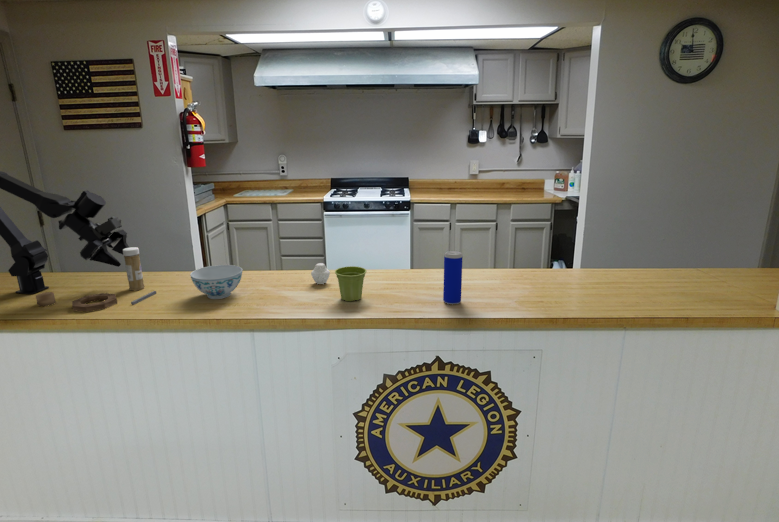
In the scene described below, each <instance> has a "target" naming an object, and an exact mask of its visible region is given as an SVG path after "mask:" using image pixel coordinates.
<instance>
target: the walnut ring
mask: <svg viewBox="0 0 779 522" xmlns="http://www.w3.org/2000/svg"><path fill="white" fill-rule="evenodd" d="M97 300H99V301H100V302H98V301H97ZM104 300H105V301H104ZM91 301H93V302H95V303H91ZM85 303H86V304H85ZM87 303H89V304H87ZM117 304H118V299H117V296H116V294H115V293H107V292H106V293H105V292H101V293H95V294H89V295H84V296H82V297H79V298H77V299H75V300H72V301H71V305H72V306H71V307H72V311H74V312H81V311H86V312H85V313H88V312H87V311H90V312H93V310H95V311H100V310H99V309H101V310H105V308H106V309H108V308H110V307H112V306H114V305H117ZM107 307H108V308H107Z"/></svg>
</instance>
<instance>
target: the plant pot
mask: <svg viewBox="0 0 779 522" xmlns="http://www.w3.org/2000/svg"><path fill="white" fill-rule="evenodd" d="M366 273H367V268H364V267H361V266H354V265H352V266H342V267H339V268H337V269H335V270H334V274H335V275H336V278H337V281H338V287H339V293H340V298H341V300H342V301H344V300H345V301H346V302H352V301H355V300H357V301H359V299H360V298H361V299H362V297H363V295H362V294H363V288H364V287H363V286H364V279H365V276H366ZM361 299H360V300H361Z"/></svg>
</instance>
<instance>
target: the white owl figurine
mask: <svg viewBox="0 0 779 522" xmlns="http://www.w3.org/2000/svg"><path fill="white" fill-rule="evenodd" d="M330 274H331V271H330V270H329V269H328V268H327V266H326V264H325V263H323V262H319V263H316V264H315V265H314V268H313V269H312V271H311V273H310V275H311V278H312V279H313V282H315V284H316V283H317V284H316V285H318V284H323V285H325V284H324V283H326V284H327V282H328V280H329V277H330Z"/></svg>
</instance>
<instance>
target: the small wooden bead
mask: <svg viewBox="0 0 779 522" xmlns="http://www.w3.org/2000/svg"><path fill="white" fill-rule="evenodd" d="M35 299H36V304H37V306H38V307H41V306H43V307H49V306H52V304H53V305H54V303H55V302H56V303H57V300H56V296H55V293H54V291H53V292H52V291H46V292H41V293H38V294H36V295H35ZM56 303H55V304H56ZM48 305H49V306H48Z"/></svg>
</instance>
